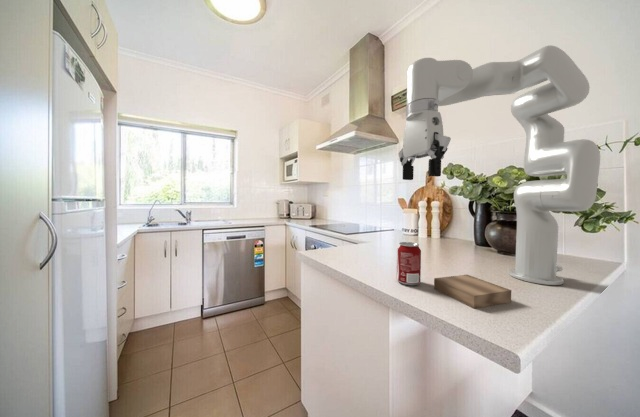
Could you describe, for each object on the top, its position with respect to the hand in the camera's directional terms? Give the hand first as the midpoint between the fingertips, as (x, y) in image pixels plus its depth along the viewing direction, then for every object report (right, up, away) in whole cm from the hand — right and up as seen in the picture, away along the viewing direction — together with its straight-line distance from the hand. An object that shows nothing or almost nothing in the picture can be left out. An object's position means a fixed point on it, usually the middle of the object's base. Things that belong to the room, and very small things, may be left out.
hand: (420, 178), depth 58 cm
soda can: (+1, -31, +9) cm, 32 cm away
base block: (+14, -31, +1) cm, 34 cm away
